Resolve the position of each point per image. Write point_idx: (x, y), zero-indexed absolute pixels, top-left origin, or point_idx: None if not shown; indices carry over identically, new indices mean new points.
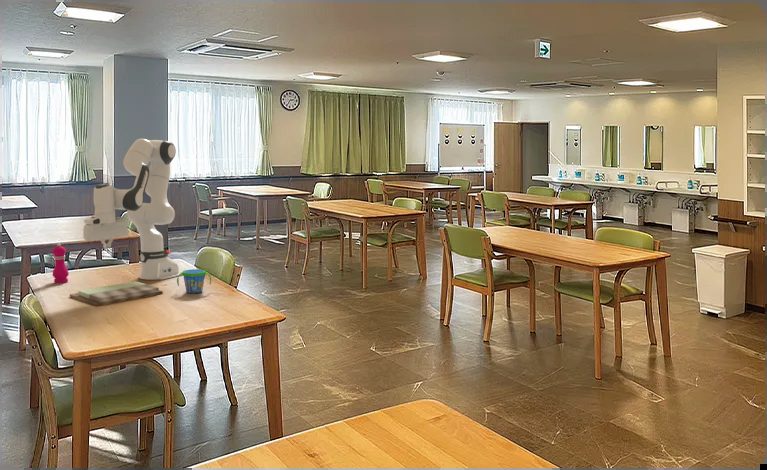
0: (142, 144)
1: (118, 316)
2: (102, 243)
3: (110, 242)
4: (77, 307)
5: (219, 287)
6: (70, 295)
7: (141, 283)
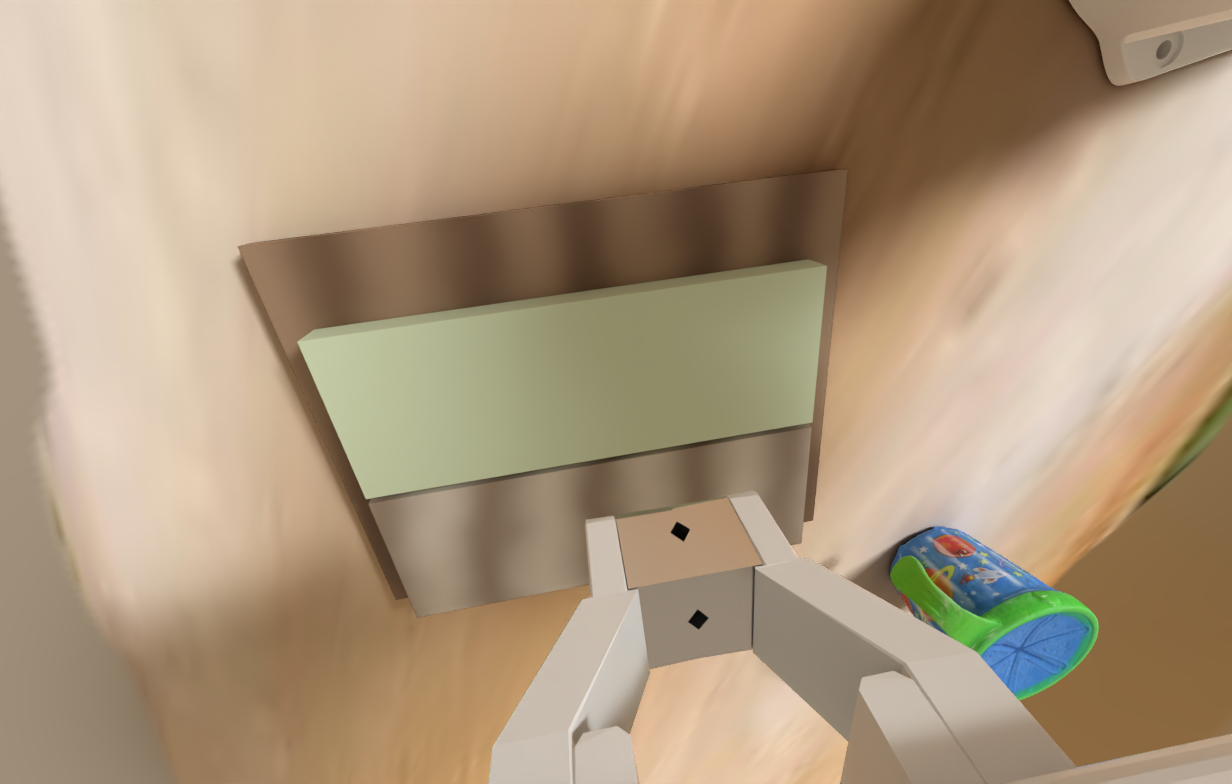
0: None
1: (454, 758)
2: (566, 640)
3: (799, 694)
4: (292, 565)
5: (1063, 529)
6: (249, 261)
7: (804, 375)
